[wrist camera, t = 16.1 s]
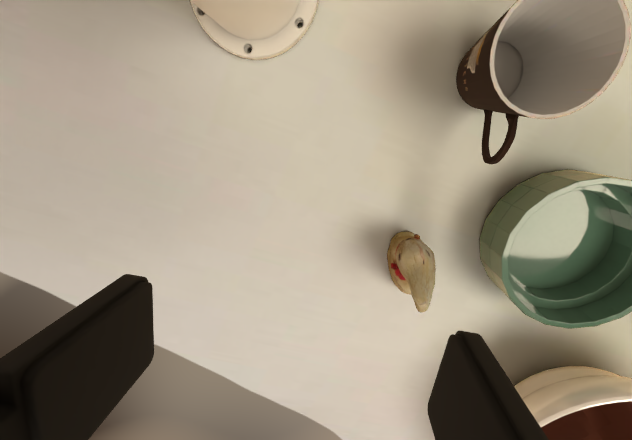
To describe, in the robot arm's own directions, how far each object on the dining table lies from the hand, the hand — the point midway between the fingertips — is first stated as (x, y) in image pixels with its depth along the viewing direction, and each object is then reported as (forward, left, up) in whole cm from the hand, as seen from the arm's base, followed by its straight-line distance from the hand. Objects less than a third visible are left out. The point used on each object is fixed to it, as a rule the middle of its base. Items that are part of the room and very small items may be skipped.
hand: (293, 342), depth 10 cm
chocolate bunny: (+7, +10, -26) cm, 29 cm away
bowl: (+2, +25, -26) cm, 36 cm away
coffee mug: (-12, +13, -26) cm, 32 cm away
